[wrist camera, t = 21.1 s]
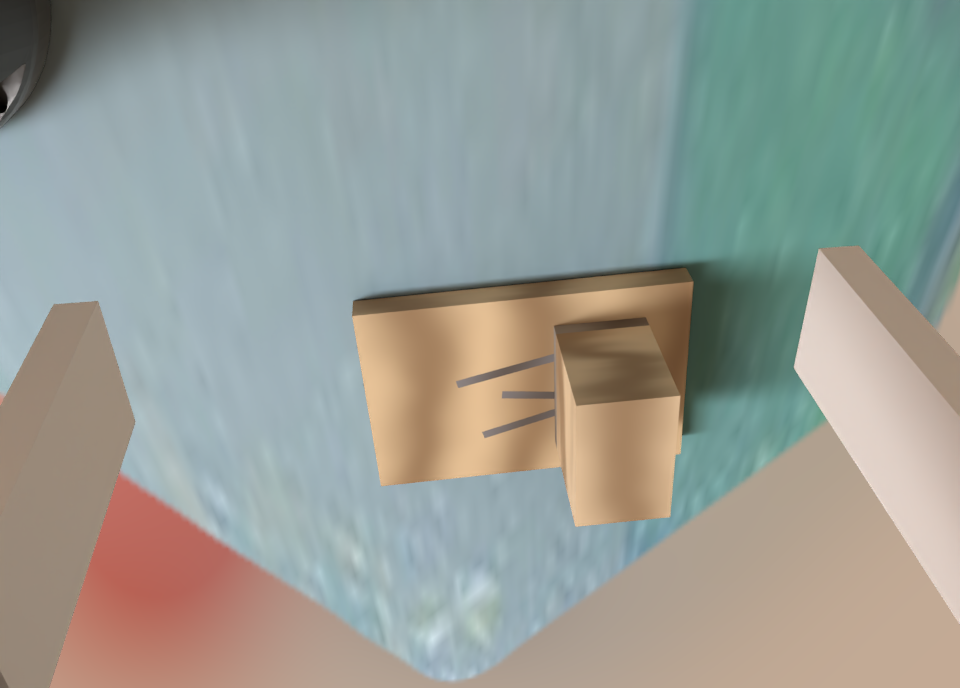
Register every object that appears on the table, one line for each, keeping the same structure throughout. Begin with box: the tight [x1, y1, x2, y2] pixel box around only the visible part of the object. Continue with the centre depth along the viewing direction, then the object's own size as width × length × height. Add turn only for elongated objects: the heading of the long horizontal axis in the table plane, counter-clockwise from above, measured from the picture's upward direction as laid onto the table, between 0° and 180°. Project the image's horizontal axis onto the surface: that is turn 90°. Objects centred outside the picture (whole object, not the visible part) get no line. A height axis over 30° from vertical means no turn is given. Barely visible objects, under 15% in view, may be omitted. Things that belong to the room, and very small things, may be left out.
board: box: [352, 268, 693, 486], centre depth 52 cm, size 18×12×2 cm, turn 94°
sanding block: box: [554, 317, 680, 527], centre depth 49 cm, size 5×8×7 cm, turn 3°
